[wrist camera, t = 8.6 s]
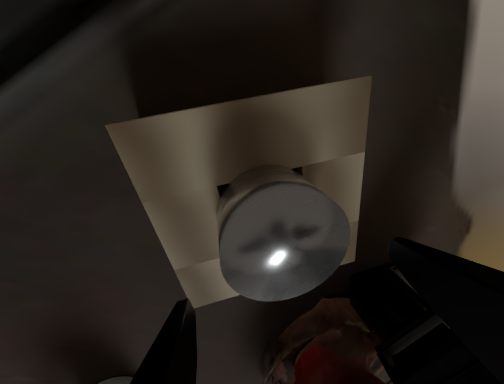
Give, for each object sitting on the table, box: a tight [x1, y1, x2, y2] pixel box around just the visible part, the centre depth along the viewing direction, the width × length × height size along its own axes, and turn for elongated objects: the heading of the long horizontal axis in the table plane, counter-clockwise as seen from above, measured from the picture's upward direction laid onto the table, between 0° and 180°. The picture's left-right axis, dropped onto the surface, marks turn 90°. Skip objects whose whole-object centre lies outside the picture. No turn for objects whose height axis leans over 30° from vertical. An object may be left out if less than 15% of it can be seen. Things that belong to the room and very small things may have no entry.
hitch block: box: [105, 76, 372, 308], centre depth 15 cm, size 14×14×5 cm
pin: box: [217, 165, 351, 301], centre depth 13 cm, size 7×7×9 cm
